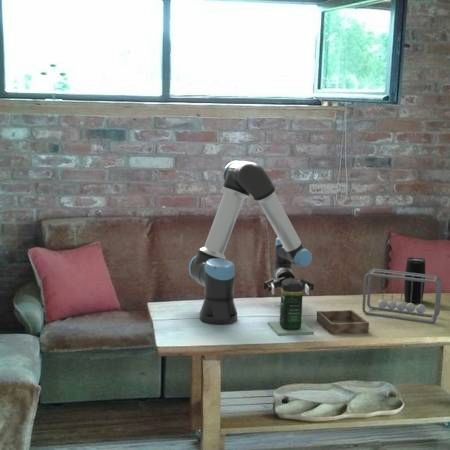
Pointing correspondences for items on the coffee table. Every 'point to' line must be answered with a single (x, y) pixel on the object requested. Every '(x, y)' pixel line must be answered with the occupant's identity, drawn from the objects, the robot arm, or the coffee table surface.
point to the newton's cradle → (401, 305)
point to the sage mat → (282, 331)
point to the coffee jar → (291, 304)
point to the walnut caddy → (342, 328)
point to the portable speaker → (417, 292)
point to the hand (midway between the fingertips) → (290, 291)
